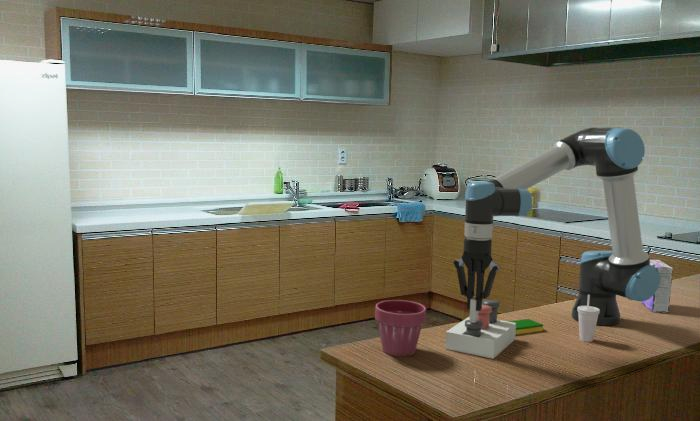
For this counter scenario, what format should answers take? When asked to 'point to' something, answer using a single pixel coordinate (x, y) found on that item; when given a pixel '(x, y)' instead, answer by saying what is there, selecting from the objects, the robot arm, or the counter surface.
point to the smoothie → (587, 321)
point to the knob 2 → (494, 305)
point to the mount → (481, 339)
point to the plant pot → (399, 325)
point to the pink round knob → (485, 315)
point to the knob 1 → (473, 328)
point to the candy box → (661, 288)
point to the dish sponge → (527, 326)
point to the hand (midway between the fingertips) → (473, 321)
